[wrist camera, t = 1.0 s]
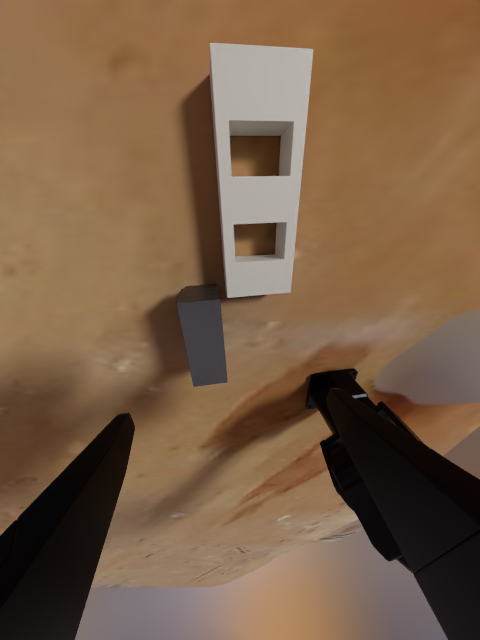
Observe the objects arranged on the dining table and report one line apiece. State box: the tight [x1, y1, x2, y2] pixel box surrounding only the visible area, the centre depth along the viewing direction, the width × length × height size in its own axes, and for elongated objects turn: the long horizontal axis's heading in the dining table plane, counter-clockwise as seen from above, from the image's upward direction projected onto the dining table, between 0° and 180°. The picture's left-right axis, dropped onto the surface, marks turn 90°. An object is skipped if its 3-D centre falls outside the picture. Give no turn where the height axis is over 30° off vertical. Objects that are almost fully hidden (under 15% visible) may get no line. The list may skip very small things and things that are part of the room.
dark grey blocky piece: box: [177, 284, 227, 387], centre depth 18 cm, size 8×3×5 cm, turn 2°
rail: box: [210, 43, 313, 298], centre depth 15 cm, size 14×6×2 cm, turn 2°
